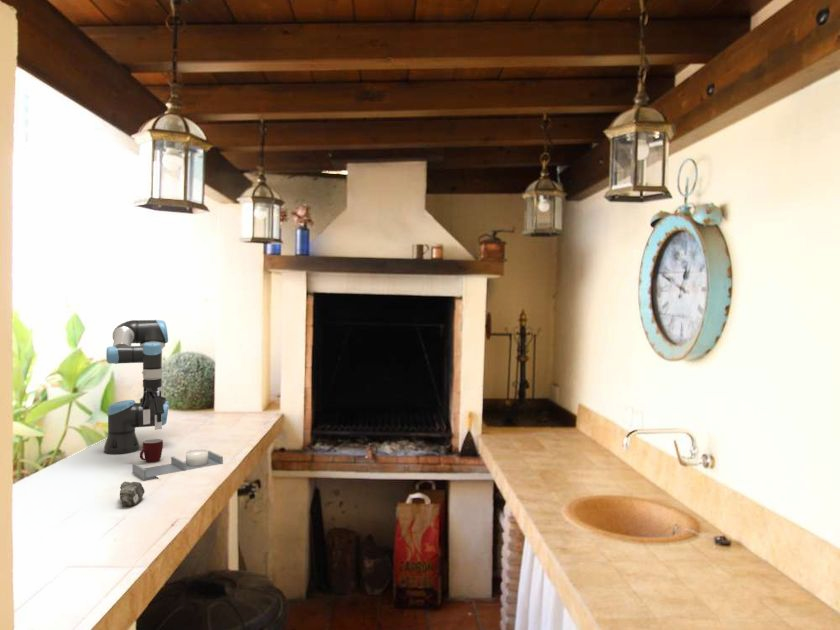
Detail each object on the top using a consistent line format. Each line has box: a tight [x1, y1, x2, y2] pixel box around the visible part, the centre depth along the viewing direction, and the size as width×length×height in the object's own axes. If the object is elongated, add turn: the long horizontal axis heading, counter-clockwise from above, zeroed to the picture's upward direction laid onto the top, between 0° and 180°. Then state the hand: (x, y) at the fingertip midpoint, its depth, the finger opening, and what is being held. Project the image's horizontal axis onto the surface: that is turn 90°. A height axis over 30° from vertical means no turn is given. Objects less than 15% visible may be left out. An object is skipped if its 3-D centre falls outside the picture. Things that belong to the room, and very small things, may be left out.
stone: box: [119, 481, 145, 508], centre depth 222 cm, size 14×7×10 cm, turn 24°
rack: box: [131, 450, 224, 482], centre depth 263 cm, size 14×33×4 cm, turn 132°
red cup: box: [139, 438, 164, 464], centre depth 270 cm, size 10×8×10 cm
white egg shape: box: [185, 449, 209, 466], centre depth 268 cm, size 9×9×5 cm
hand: (152, 426), depth 270 cm, fingers open, 13 cm apart
